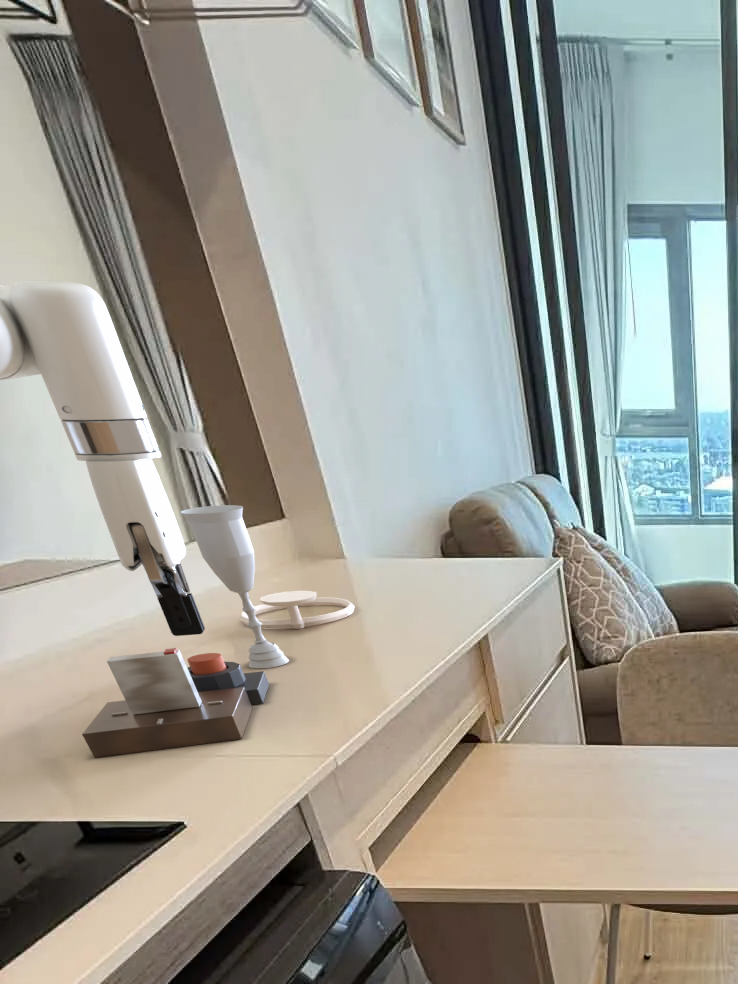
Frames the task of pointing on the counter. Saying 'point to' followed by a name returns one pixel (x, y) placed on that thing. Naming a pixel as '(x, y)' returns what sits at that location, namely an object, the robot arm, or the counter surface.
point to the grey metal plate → (155, 681)
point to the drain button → (206, 663)
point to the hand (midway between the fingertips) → (189, 633)
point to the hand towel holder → (292, 602)
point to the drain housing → (234, 681)
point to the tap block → (169, 724)
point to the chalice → (233, 567)
